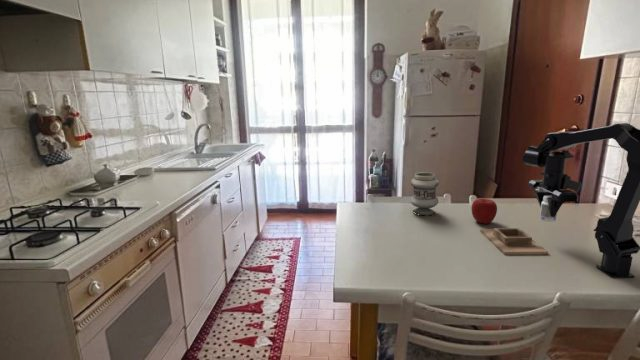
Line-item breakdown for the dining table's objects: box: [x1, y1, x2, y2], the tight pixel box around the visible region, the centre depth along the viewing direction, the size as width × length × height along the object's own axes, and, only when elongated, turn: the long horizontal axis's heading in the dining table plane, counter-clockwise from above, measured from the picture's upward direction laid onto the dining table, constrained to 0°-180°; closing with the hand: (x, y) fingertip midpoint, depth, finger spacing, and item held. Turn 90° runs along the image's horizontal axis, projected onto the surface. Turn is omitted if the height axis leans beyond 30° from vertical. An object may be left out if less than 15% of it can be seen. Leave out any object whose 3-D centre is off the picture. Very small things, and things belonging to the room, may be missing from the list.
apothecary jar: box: [410, 171, 440, 217], centre depth 156 cm, size 12×12×18 cm
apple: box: [471, 198, 498, 225], centre depth 143 cm, size 10×10×10 cm
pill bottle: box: [539, 195, 558, 223], centre depth 120 cm, size 5×5×8 cm
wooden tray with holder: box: [479, 227, 549, 256], centre depth 124 cm, size 20×14×4 cm
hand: (548, 214), depth 120 cm, fingers closed on pill bottle, 5 cm apart
